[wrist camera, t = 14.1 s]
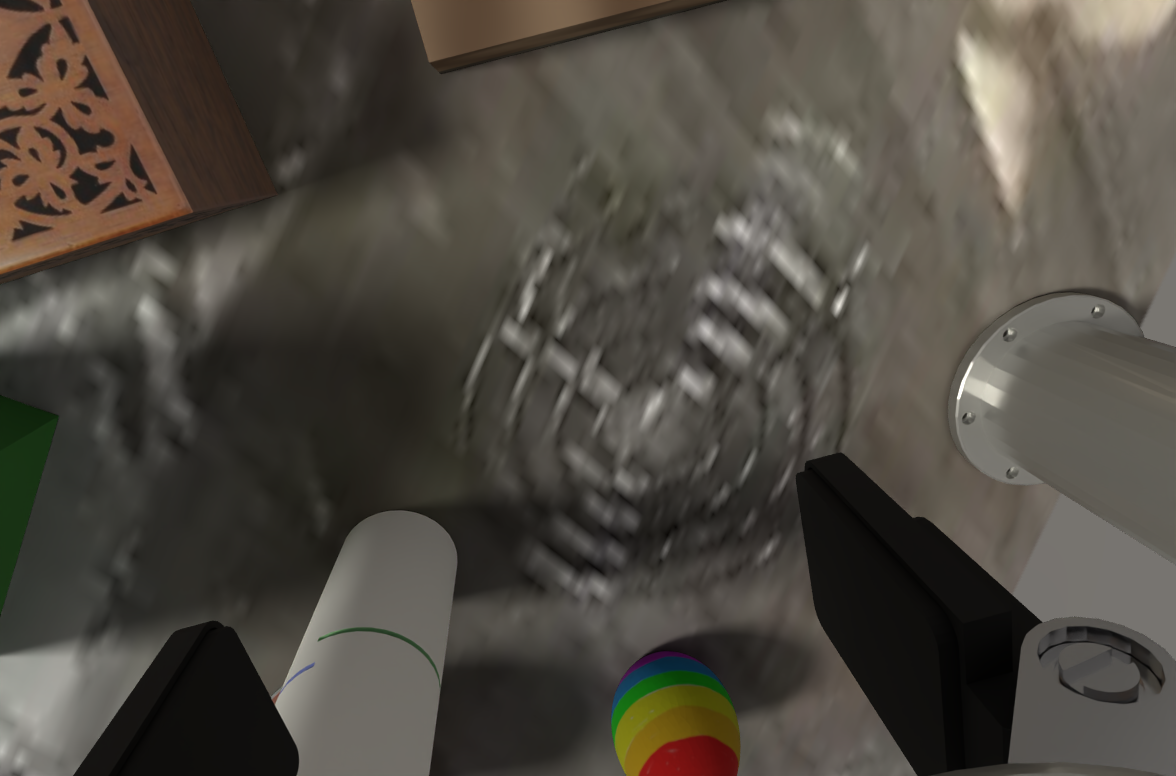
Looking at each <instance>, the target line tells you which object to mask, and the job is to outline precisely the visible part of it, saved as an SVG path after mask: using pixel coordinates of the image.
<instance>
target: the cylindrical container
mask: <svg viewBox="0 0 1176 776" xmlns="http://www.w3.org/2000/svg"><path fill="white" fill-rule="evenodd" d="M456 570H457V552H456V548H455V545H454V542H453V541H452V539H451V537H450V535H449V534H448V533H447V532H446V530H445V529H444V528H443V527H442V526H440V525H439V524H438V523H437V522H436V521H434V520H432V519H430V518H428V517H427V516H424V515H421V514H418V513H415V512H410V511H403V510H396V511H386V512H381V513H377V514H375V515H372V516H370V517H367V518H366V519H364V520H363V521H361V522H360V523H358V524H357V525H356V526H355V527H354V528H353V529H352V530H351V532H350V533H349V534H348V536H347V537H346V539H345V541H344V544H343V546H342V548H341V551H340V553H339V555H338V558H337V560H336V562H335V565H334V567H333V569H332V572H331V574H330V576H329V579H328V581H327V583H326V586H325V588H324V590H323V593H322V595H321V597H320V600H319V602H318V604H317V607H316V609H315V611H314V614H313V616H312V618H311V621H310V623H309V626H308V628H307V630H306V633H305V635H304V637H303V640H302V642H301V644H300V647H299V649H298V652H297V654H296V656H295V659H294V661H293V663H292V666H291V668H290V670H289V673H288V675H287V678H286V680H285V682H284V685H283V687H282V689H281V692H280V694H279V696H278V699H277V701H276V703H275V706H276V708H277V710H278V712H279V714H280V716H281V718H282V719H283V721H284V723H285V725H286V727H287V729H288V731H289V733H290V734H291V736H292V738H293V740H294V742H295V744H296V746H297V749H298V753H299V769H298V773H297V776H429V772H430V764H431V757H432V749H433V742H434V734H435V727H436V720H437V712H438V705H439V697H440V690H441V682H442V675H443V667H444V660H445V653H446V645H447V638H448V630H449V623H450V615H451V608H452V600H453V593H454V585H455V578H456Z"/></svg>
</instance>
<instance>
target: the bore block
mask: <svg viewBox="0 0 1176 776" xmlns="http://www.w3.org/2000/svg"><path fill="white" fill-rule="evenodd" d="M723 1H727V0H411V3H412V6H413V9H414V13H415V16H416V20H417V23H418V26H419V30H420V33H421V36H422V40H423V43H424V47H425V50H426V53H427V57H428V60H429V63H430V64H431V65H432V66H433V67H434V68H435V69H436V70H437V71H438V72H439V73H440V74H443V73H447V72H451V71H454V70H458V69H462V68H466V67H470V66H474V65H478V64H482V63H486V62H489V61H493V60H497V59H501V58H505V57H509V56H513V55H517V54H521V53H524V52H528V51H532V50H536V49H540V48H544V47H548V46H552V45H556V44H559V43H563V42H567V41H571V40H575V39H579V38H583V37H587V36H591V35H594V34H598V33H602V32H606V31H610V30H614V29H618V28H622V27H626V26H629V25H633V24H637V23H641V22H645V21H649V20H653V19H657V18H661V17H665V16H668V15H672V14H676V13H680V12H684V11H688V10H692V9H696V8H700V7H703V6H707V5H711V4H715V3H719V2H723Z"/></svg>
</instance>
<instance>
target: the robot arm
mask: <svg viewBox="0 0 1176 776" xmlns="http://www.w3.org/2000/svg"><path fill="white" fill-rule="evenodd" d="M948 422H949V427H950V432H951V436H952V438H953V440H954V442H955V445H956V447H957V449H958V451H959V452H960V453H961V454H962V455H963V457H964V458H965V459H966V460H967V461H968V462H969V463H970V464H971V465H973V466H974V467H975V468H977V469H978V470H979V471H981V472H982V473H984V474H986V475H987V476H989V477H991V478H993V479H994V480H997V481H1000V482H1003V483H1007V484H1014V485H1036V484H1044V483H1046V484H1048V485H1049V486H1051V487H1053V488H1054V489H1056V490H1057V491H1059V492H1060V493H1062V494H1064V495H1065V496H1067V497H1068V498H1070V499H1072V500H1073V501H1075V502H1076V503H1078V504H1079V505H1081V506H1083V507H1084V508H1086V509H1087V510H1089V511H1090V512H1092V513H1094V514H1095V515H1097V516H1098V517H1100V518H1102V519H1103V520H1105V521H1106V522H1108V523H1110V524H1111V525H1113V526H1114V527H1116V528H1117V529H1119V530H1120V531H1122V532H1124V533H1125V534H1127V535H1128V536H1130V537H1132V538H1133V539H1135V540H1136V541H1138V542H1139V543H1141V544H1143V545H1144V546H1146V547H1147V548H1149V549H1151V550H1152V551H1154V552H1155V553H1157V554H1158V555H1160V556H1162V557H1163V558H1165V559H1166V560H1168V561H1169V562H1171V563H1173V564H1174V565H1176V347H1173V346H1169V345H1167V344H1163V343H1160V342H1157V341H1153V340H1150V339H1147V338H1144V335H1143V332H1142V330H1141V329H1140V327H1139V326H1138V324H1137V322H1136V321H1135V319H1134V318H1133V317H1132V316H1131V315H1130V314H1129V313H1128V312H1126V311H1125V310H1124V309H1123V308H1122V307H1120V306H1118V305H1116V304H1115V303H1113V302H1111V301H1109V300H1106V299H1103V298H1099V297H1096V296H1092V295H1089V294H1081V293H1074V292H1066V293H1053V294H1049V295H1045V296H1041V297H1038V298H1034V299H1032V300H1029V301H1027V302H1025V303H1023V304H1021V305H1018V306H1016V307H1014V308H1013V309H1011V310H1010V311H1008V312H1007V313H1005V314H1004V315H1002V316H1001V317H999V318H998V319H997V320H996V321H994V322H993V323H992V324H991V325H990V326H989V327H988V328H987V329H986V330H985V331H984V332H982V333H981V335H980V336H979V337H978V338H977V340H976V341H975V342H974V343H973V345H972V346H971V347H970V348H969V349H968V351H967V353H966V355H965V356H964V358H963V360H962V362H961V363H960V365H959V367H958V369H957V372H956V374H955V377H954V380H953V382H952V385H951V390H950V395H949V400H948ZM796 485H797V492H798V499H799V506H800V512H801V519H802V526H803V532H804V539H805V546H806V553H807V559H808V566H809V573H810V580H811V586H812V593H813V600H814V606H815V610H816V613H817V616H818V619H819V621H820V624H821V626H822V627H823V629H824V631H825V632H826V634H827V636H828V637H829V639H830V640H831V642H832V643H833V645H834V646H835V648H836V650H837V651H838V653H839V654H840V656H841V657H842V659H843V660H844V662H845V664H846V665H847V667H848V668H849V670H850V671H851V673H852V674H853V676H854V678H855V679H856V681H857V682H858V684H859V685H860V687H861V688H862V690H863V692H864V693H865V695H866V696H867V698H868V699H869V701H870V703H871V704H872V706H873V707H874V709H875V710H876V712H877V713H878V715H879V717H880V718H881V720H882V721H883V723H884V724H885V726H886V727H887V729H888V731H889V732H890V734H891V735H892V737H893V738H894V740H895V741H896V743H897V745H898V746H899V748H900V749H901V751H902V752H903V754H904V755H905V757H906V759H907V760H908V762H909V763H910V765H911V766H912V768H913V770H914V771H915V773H916V774H917V776H1176V661H1175V660H1174V659H1173V658H1172V656H1171V655H1170V654H1169V653H1168V652H1167V651H1166V650H1165V649H1164V648H1163V647H1161V646H1160V645H1159V644H1157V643H1156V642H1154V641H1153V640H1151V639H1150V638H1148V637H1147V636H1145V635H1143V634H1141V633H1139V632H1137V631H1134V630H1132V629H1130V628H1128V627H1125V626H1123V625H1120V624H1116V623H1112V622H1109V621H1104V620H1101V619H1094V618H1083V617H1066V618H1056V619H1052V620H1049V621H1046V622H1042V621H1040V620H1039V619H1038V618H1037V617H1036V616H1035V615H1034V614H1033V613H1032V612H1030V611H1029V610H1028V609H1027V608H1026V607H1025V606H1024V605H1022V603H1020V602H1019V601H1018V600H1017V599H1016V598H1015V597H1014V596H1013V595H1012V594H1010V593H1009V592H1008V591H1007V590H1006V589H1005V588H1004V587H1003V586H1002V585H1000V584H999V583H998V582H997V581H996V580H995V579H994V578H993V577H992V576H990V575H989V574H988V573H987V572H986V571H985V570H984V569H983V568H982V567H980V566H979V565H978V564H977V563H976V562H975V561H974V560H973V559H972V558H971V557H969V556H968V555H967V554H966V553H965V552H964V551H963V550H962V549H961V548H959V547H958V546H957V545H956V544H955V543H954V542H953V541H952V540H951V539H949V538H948V537H947V536H946V535H945V534H944V533H943V532H942V531H941V530H939V529H938V528H937V527H936V526H935V525H934V524H933V523H932V522H930V521H929V520H927V519H926V518H923V517H915V518H912V517H911V516H910V515H909V514H908V513H907V512H906V511H904V510H903V509H902V508H901V507H900V506H899V505H898V504H897V503H896V502H895V501H894V500H893V499H892V498H891V497H889V496H888V495H887V494H886V493H885V492H884V491H883V490H882V489H881V488H880V487H879V486H878V485H877V484H876V483H874V482H873V481H872V480H871V479H870V478H869V477H868V476H867V475H866V474H865V473H864V472H863V471H862V470H860V469H859V468H858V467H857V466H856V465H855V464H854V463H853V462H852V461H851V460H850V459H849V458H848V457H847V456H845V455H844V454H843V453H836V454H832V455H828V456H825V457H821V458H817V459H813V460H810V461H807V462H806V463H805V471H803V472H800V473H797V474H796ZM298 769H299V753H298V749H297V746H296V744H295V742H294V740H293V738H292V736H291V734H290V733H289V731H288V729H287V727H286V725H285V723H284V721H283V719H282V718H281V716H280V714H279V712H278V710H277V708H276V706H275V705H274V703H273V701H272V699H271V697H270V695H269V693H268V691H267V690H266V688H265V686H264V684H263V682H262V680H261V678H260V676H259V675H258V673H257V671H256V669H255V667H254V665H253V663H252V662H251V660H250V658H249V656H248V654H247V652H246V650H245V648H244V647H243V645H242V643H241V641H240V639H239V637H238V635H237V633H236V632H235V631H234V629H232V628H231V627H228V626H226V627H224V626H223V625H222V624H221V623H219V622H218V621H210V622H206V623H202V624H198V625H195V626H191V627H187V628H183V629H180V630H177V631H175V632H174V633H173V634H172V635H171V636H170V638H169V639H168V641H167V642H166V643H165V645H164V646H163V648H162V649H161V651H160V652H159V653H158V655H157V656H156V658H155V659H154V661H153V662H152V664H151V665H150V666H149V668H148V669H147V671H146V672H145V674H144V675H143V676H142V678H141V679H140V681H139V682H138V684H137V685H136V686H135V688H134V689H133V691H132V692H131V694H130V695H129V696H128V698H127V699H126V701H125V702H124V704H123V705H122V706H121V708H120V709H119V711H118V712H117V714H116V715H115V716H114V718H113V719H112V721H111V722H110V724H109V725H108V727H107V728H106V729H105V731H104V732H103V734H102V735H101V737H100V738H99V739H98V741H97V742H96V744H95V745H94V747H93V748H92V749H91V751H90V752H89V754H88V755H87V757H86V758H85V759H84V761H83V762H82V764H81V765H80V767H79V768H78V769H77V771H76V772H75V774H74V775H73V776H297V773H298Z"/></svg>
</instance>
